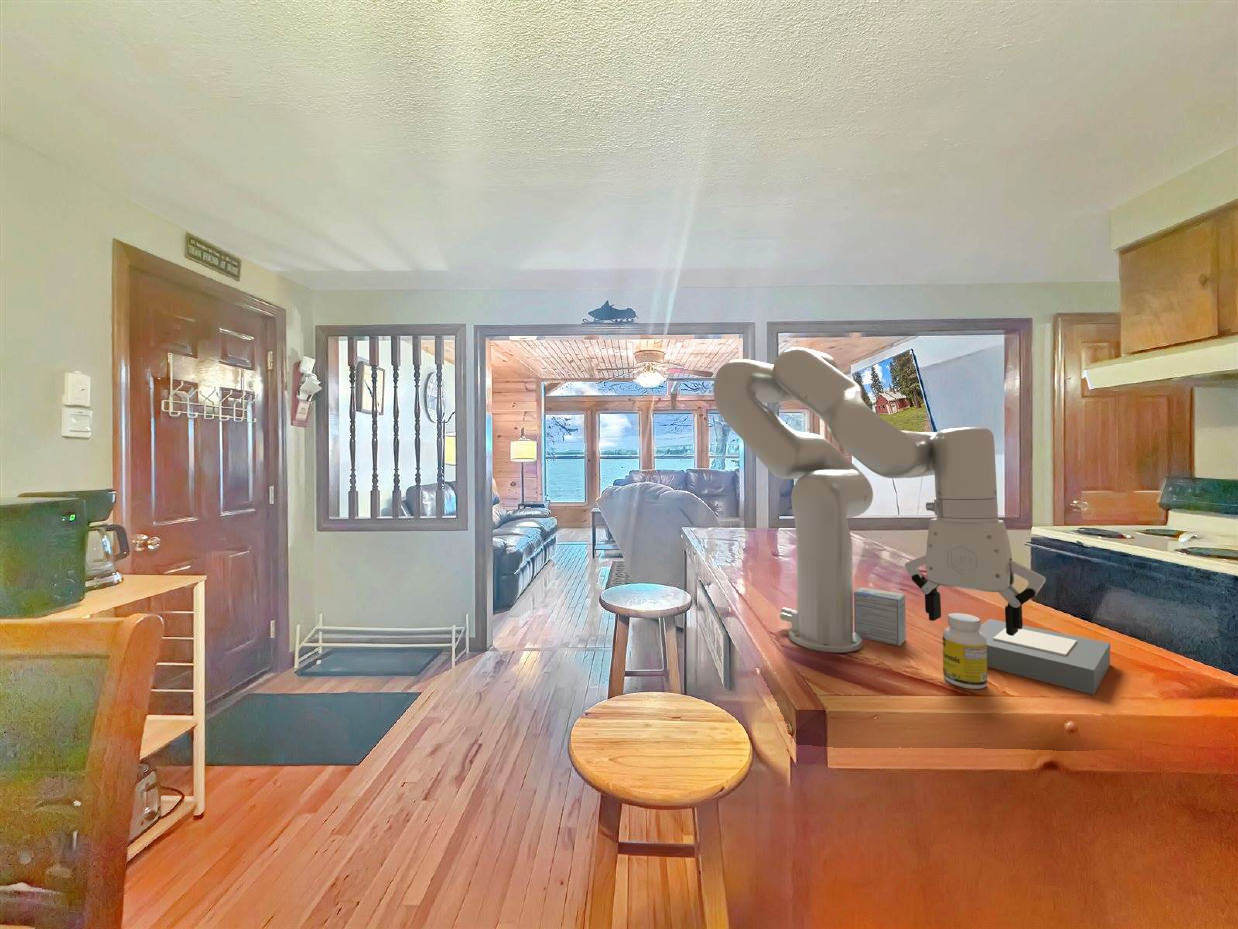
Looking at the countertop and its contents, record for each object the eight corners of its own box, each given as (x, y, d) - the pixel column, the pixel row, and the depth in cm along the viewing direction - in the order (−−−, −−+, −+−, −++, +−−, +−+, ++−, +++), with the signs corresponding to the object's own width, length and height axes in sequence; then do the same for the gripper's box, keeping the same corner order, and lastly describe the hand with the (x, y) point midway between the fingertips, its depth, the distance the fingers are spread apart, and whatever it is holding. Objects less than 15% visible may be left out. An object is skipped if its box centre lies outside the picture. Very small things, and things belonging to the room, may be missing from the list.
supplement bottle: (935, 673, 76) (935, 610, 76) (973, 675, 76) (973, 612, 76) (954, 689, 71) (954, 622, 71) (995, 691, 70) (995, 623, 70)
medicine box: (906, 640, 90) (906, 593, 90) (900, 647, 87) (900, 598, 87) (860, 630, 96) (860, 586, 96) (853, 636, 93) (853, 591, 93)
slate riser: (961, 659, 81) (961, 637, 81) (989, 637, 92) (989, 617, 91) (1094, 695, 69) (1094, 668, 69) (1110, 664, 79) (1110, 641, 79)
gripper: (893, 510, 77) (898, 619, 77) (1034, 514, 64) (1041, 646, 64) (912, 507, 82) (917, 609, 82) (1047, 510, 69) (1054, 633, 68)
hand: (971, 625), depth 73 cm, fingers open, 9 cm apart
